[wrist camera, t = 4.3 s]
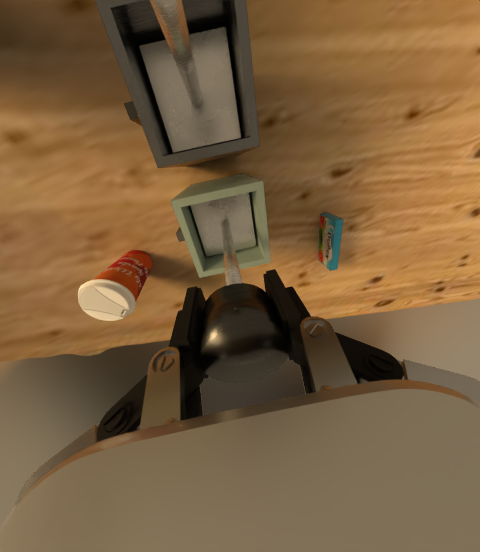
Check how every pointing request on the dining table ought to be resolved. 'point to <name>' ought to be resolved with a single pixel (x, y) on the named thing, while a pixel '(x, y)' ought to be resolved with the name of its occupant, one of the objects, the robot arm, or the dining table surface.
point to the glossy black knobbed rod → (236, 300)
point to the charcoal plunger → (191, 81)
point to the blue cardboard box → (329, 240)
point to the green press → (218, 191)
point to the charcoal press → (144, 109)
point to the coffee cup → (116, 287)
